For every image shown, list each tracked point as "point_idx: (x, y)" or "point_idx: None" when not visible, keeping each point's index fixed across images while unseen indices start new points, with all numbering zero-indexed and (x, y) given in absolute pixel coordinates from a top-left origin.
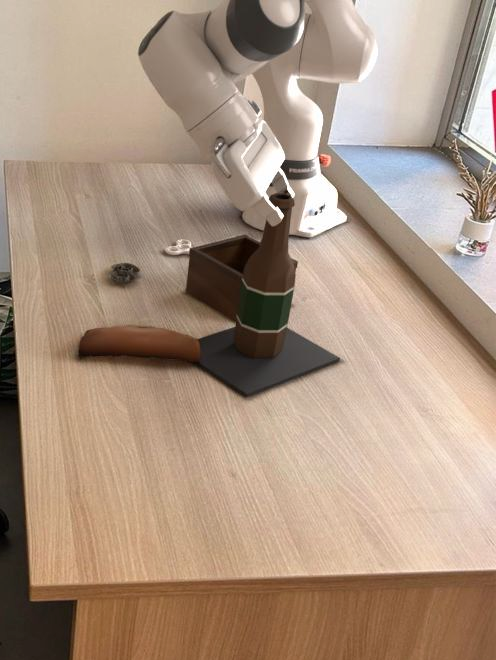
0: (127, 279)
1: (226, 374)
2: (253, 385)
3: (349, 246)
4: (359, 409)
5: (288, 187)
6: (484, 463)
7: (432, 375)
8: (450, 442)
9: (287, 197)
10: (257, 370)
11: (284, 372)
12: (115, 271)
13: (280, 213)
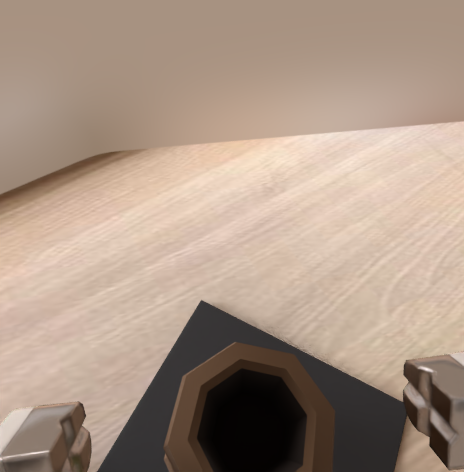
0: None
1: (377, 469)
2: (375, 404)
3: None
4: (317, 250)
5: (9, 452)
6: (334, 135)
7: (178, 194)
8: (318, 161)
9: (206, 397)
10: None
11: None
12: None
13: (447, 368)
